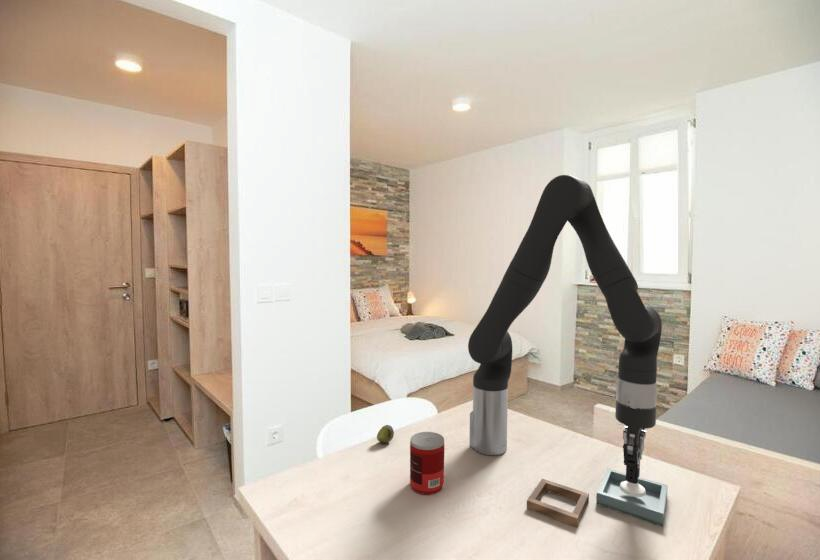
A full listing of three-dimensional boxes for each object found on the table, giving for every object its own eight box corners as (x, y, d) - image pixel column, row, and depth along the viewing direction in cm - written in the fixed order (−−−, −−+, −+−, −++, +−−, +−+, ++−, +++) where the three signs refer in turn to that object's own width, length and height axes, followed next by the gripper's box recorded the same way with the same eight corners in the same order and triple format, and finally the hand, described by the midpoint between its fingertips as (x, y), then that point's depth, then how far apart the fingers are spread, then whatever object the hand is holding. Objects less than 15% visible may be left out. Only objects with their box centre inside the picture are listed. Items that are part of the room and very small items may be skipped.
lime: (375, 445, 112) (375, 427, 112) (380, 437, 117) (380, 420, 117) (391, 447, 111) (391, 429, 111) (395, 439, 116) (395, 422, 116)
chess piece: (649, 498, 84) (651, 452, 84) (623, 495, 85) (625, 449, 85) (640, 485, 89) (642, 441, 88) (616, 482, 90) (618, 439, 89)
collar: (526, 508, 85) (526, 500, 84) (541, 486, 93) (542, 478, 93) (577, 527, 79) (577, 518, 79) (588, 501, 87) (589, 493, 87)
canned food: (448, 480, 95) (449, 434, 94) (436, 499, 88) (436, 450, 87) (418, 473, 98) (418, 428, 97) (404, 490, 91) (404, 443, 90)
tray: (596, 504, 86) (596, 492, 86) (607, 478, 96) (607, 468, 96) (662, 526, 79) (663, 513, 79) (667, 496, 89) (667, 485, 89)
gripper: (621, 387, 94) (618, 460, 95) (610, 406, 82) (607, 488, 84) (659, 394, 89) (655, 470, 91) (653, 415, 78) (649, 501, 79)
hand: (632, 478), depth 87 cm, fingers closed on chess piece
